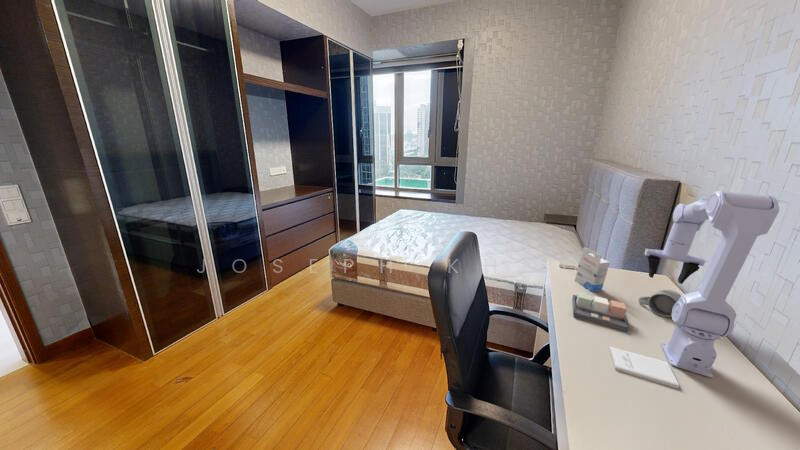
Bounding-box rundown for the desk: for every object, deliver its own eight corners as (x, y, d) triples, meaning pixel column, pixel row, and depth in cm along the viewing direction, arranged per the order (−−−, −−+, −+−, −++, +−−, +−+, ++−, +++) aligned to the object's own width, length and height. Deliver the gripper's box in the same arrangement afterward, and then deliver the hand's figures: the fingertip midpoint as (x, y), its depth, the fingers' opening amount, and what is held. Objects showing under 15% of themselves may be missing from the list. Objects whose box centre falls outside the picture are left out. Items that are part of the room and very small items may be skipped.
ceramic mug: (680, 312, 97) (688, 292, 94) (674, 321, 92) (682, 300, 90) (641, 298, 105) (647, 279, 102) (633, 305, 100) (640, 285, 98)
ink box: (602, 290, 108) (613, 254, 104) (591, 291, 107) (602, 255, 103) (584, 279, 116) (593, 245, 111) (573, 280, 115) (582, 246, 110)
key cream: (606, 313, 91) (608, 304, 90) (592, 309, 93) (595, 301, 92) (604, 307, 94) (607, 299, 93) (591, 304, 96) (594, 295, 95)
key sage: (589, 309, 93) (592, 300, 92) (576, 305, 95) (579, 297, 94) (588, 303, 96) (591, 295, 95) (576, 300, 98) (578, 292, 97)
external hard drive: (677, 390, 68) (614, 371, 72) (664, 366, 75) (607, 349, 80) (679, 385, 67) (615, 366, 72) (666, 361, 74) (609, 345, 79)
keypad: (627, 331, 86) (628, 326, 86) (573, 316, 92) (574, 311, 92) (620, 311, 96) (622, 306, 96) (572, 298, 102) (573, 293, 102)
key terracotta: (623, 318, 89) (626, 309, 88) (609, 314, 91) (612, 305, 90) (621, 312, 92) (624, 303, 91) (608, 308, 94) (610, 300, 93)
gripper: (704, 242, 93) (689, 280, 97) (647, 233, 99) (635, 269, 104) (714, 250, 87) (697, 289, 91) (653, 240, 93) (640, 277, 98)
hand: (665, 279), depth 97 cm, fingers open, 7 cm apart
